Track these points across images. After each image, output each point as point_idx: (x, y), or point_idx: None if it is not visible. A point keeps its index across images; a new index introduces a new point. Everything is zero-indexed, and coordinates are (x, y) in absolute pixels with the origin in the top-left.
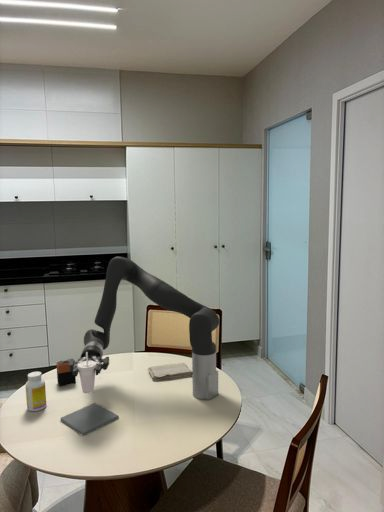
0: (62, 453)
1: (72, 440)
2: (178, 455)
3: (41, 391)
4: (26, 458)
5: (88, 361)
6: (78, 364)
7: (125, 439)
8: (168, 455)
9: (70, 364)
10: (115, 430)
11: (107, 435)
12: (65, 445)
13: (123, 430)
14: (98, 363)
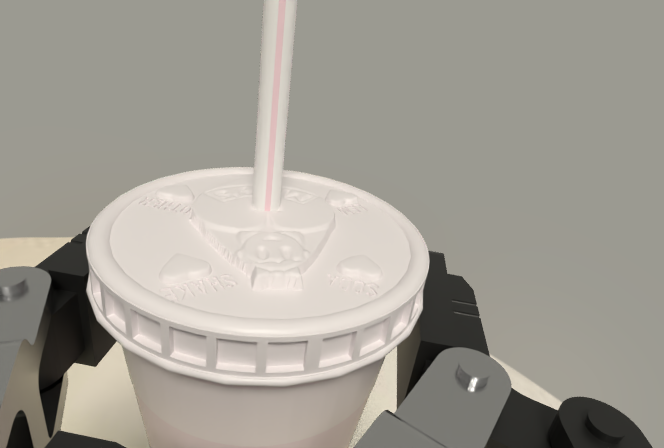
0: (389, 365)
1: (357, 433)
2: (10, 243)
3: None
4: (525, 382)
5: (213, 297)
6: (414, 254)
7: (116, 359)
8: (37, 251)
9: (616, 415)
10: (120, 441)
11: None
12: (386, 408)
13: (80, 426)
14: (20, 293)
